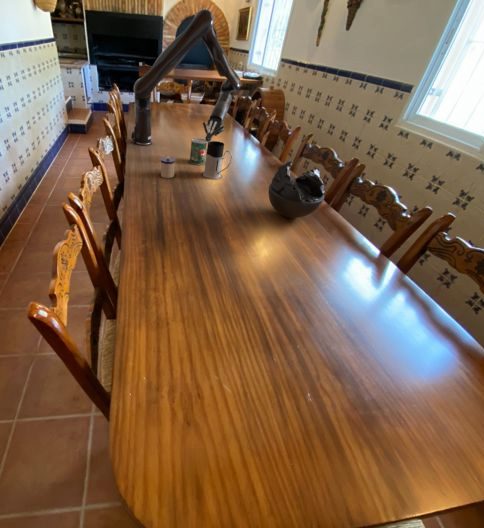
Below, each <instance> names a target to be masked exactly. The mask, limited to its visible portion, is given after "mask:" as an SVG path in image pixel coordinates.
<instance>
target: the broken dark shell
mask: <svg viewBox="0 0 484 528" xmlns="http://www.w3.org/2000/svg"><path fill="white" fill-rule="evenodd" d="M292 165H293V161H287V162H285V164H282V165H280V166H278V167H277V171H276V173H275V174H274V175H273V177H272V179H271V183H270V184H269V186H268V193H267V194H268V199H269V203H270V205H271V206H272V208H273V209H274V211H276V212H277V213H278V214H280V216H284V217H286V218H290V219H298V218H303V217H306V216H309V215H310V214H312V213H314V212H315V211H316V210H317V209H318V208H319V207H320V206H321V205H322V203H323V202H324V199H325V189H324V188H325V186H324V182H323V179H322V178H321V177H320V175H321V171H320V169H318V168H313V169H310V170H307V171H305V172H302V173H301V175H299V176H297V177H295V178H293V177H292V176H291V172H290V168H291V167H292Z"/></svg>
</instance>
